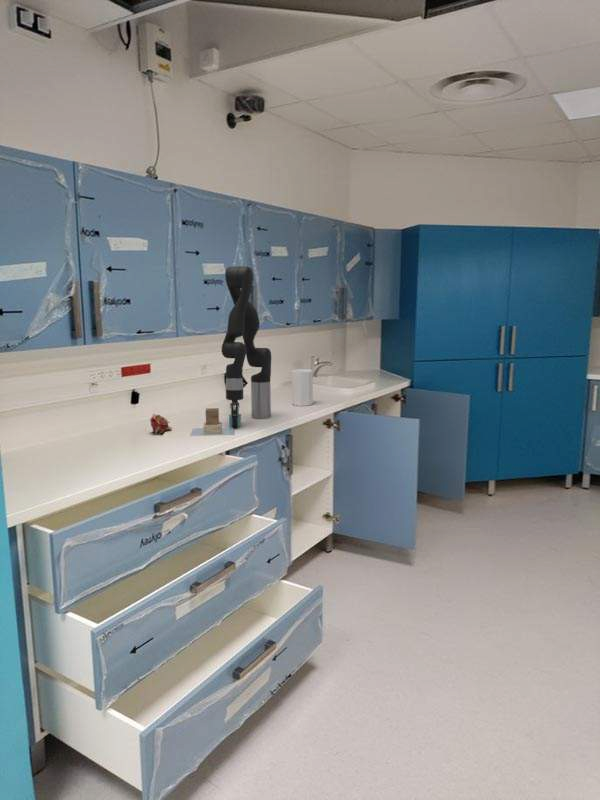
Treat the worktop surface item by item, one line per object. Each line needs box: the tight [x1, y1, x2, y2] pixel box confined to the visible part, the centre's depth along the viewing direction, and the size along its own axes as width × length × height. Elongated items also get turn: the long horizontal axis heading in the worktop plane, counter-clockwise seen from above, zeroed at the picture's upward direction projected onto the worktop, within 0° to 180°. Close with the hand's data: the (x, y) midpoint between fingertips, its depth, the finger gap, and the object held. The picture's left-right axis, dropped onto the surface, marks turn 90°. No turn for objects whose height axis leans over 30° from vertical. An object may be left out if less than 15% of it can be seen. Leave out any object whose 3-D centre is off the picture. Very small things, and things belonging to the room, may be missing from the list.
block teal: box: [228, 413, 242, 429], centre depth 252 cm, size 5×5×6 cm
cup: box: [291, 368, 314, 407], centre depth 310 cm, size 11×11×18 cm
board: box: [189, 427, 236, 437], centre depth 242 cm, size 14×18×1 cm
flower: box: [149, 413, 173, 435], centre depth 245 cm, size 10×9×8 cm
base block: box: [203, 421, 223, 436], centre depth 240 cm, size 7×7×4 cm
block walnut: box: [205, 407, 220, 425], centre depth 239 cm, size 5×5×6 cm
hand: (235, 426), depth 252 cm, fingers open, 6 cm apart
